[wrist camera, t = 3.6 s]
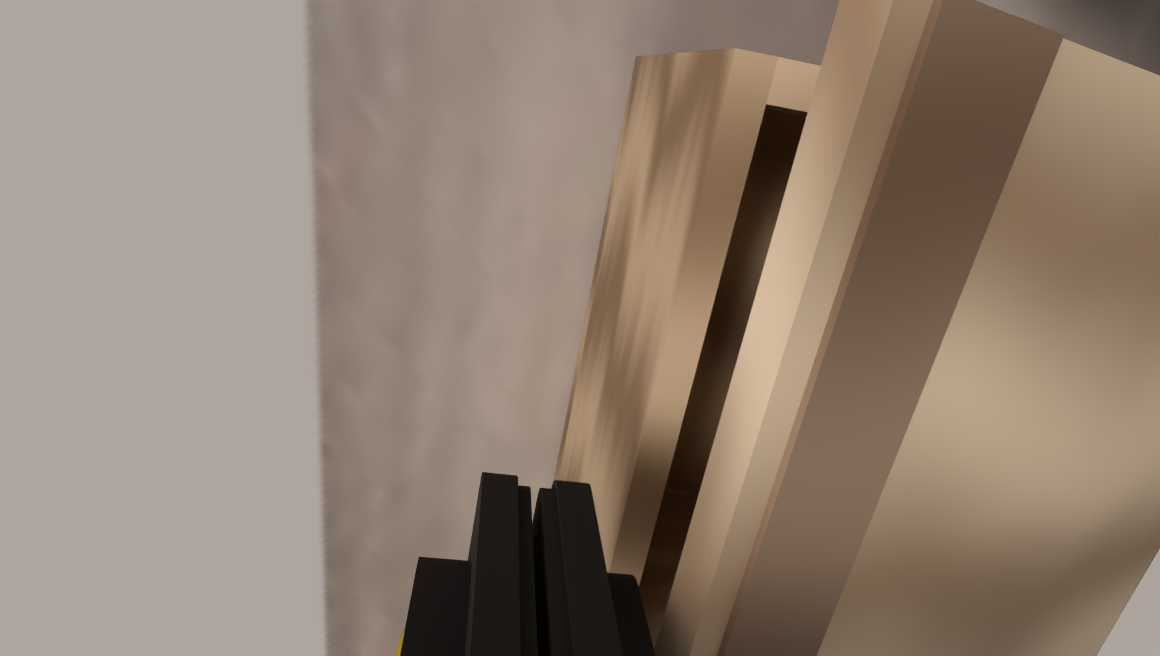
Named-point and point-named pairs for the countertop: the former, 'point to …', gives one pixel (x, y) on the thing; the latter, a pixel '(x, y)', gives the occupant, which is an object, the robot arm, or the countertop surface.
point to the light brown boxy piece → (676, 293)
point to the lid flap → (942, 358)
